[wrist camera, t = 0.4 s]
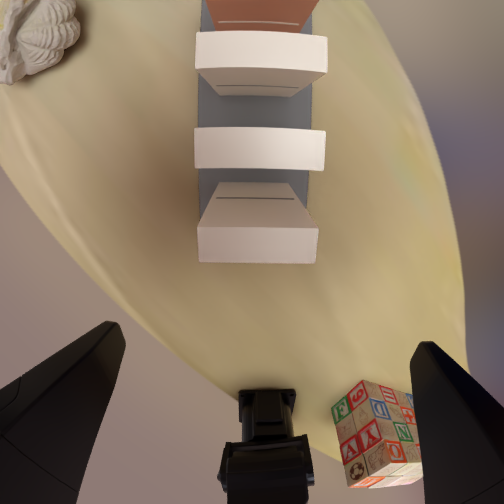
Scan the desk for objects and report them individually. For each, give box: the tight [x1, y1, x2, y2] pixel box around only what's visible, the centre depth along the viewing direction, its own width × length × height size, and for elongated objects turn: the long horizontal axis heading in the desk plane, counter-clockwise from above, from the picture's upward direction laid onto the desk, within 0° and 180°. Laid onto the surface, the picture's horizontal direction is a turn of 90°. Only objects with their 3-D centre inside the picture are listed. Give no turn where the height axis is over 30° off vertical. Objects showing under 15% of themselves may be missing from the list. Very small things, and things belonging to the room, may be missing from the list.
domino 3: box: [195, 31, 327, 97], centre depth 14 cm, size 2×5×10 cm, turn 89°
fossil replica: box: [0, 0, 80, 85], centre depth 11 cm, size 12×8×10 cm
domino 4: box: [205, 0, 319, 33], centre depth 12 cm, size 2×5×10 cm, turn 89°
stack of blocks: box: [331, 380, 423, 488], centre depth 29 cm, size 21×6×12 cm, turn 60°
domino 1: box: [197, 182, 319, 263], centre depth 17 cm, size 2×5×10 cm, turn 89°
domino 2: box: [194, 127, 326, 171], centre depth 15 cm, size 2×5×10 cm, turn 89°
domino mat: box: [198, 0, 312, 220], centre depth 19 cm, size 22×8×1 cm, turn 179°
